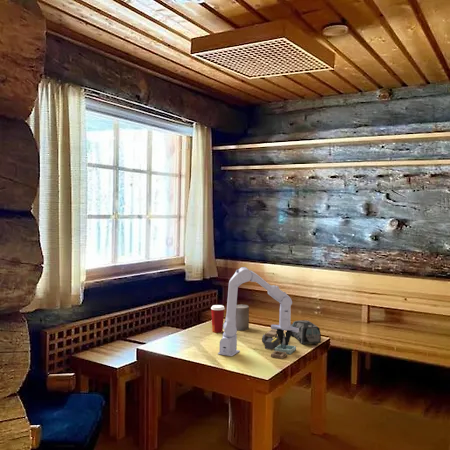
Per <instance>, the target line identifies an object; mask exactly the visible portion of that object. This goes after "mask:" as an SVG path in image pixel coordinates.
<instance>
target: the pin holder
mask: <svg viewBox="0 0 450 450" xmlns="http://www.w3.org/2000/svg"><path fill="white" fill-rule="evenodd" d="M286 356H287V354H286V352H280V351H275V350H273V352H271V353H270V357H271V358H275V359H282V360H283V359H284V358H285V357H286Z"/></svg>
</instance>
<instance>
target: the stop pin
mask: <svg viewBox="0 0 450 450" xmlns="http://www.w3.org/2000/svg"><path fill="white" fill-rule="evenodd" d="M282 349H287V345H286V335H285V336H282Z"/></svg>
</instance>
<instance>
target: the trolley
mask: <svg viewBox="0 0 450 450" xmlns="http://www.w3.org/2000/svg"><path fill="white" fill-rule="evenodd" d="M276 331H277V329H270V330H269V331H267V332H266V333H263V334H262V336H261V342H262V343H264V344H265V341H266V340H267V339H269V338H273V339H275V338H277V346H278V345H280V340H279V337H278V335H277V333H276ZM283 336H286V334H285V333H283Z"/></svg>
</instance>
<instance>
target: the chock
mask: <svg viewBox="0 0 450 450" xmlns="http://www.w3.org/2000/svg"><path fill="white" fill-rule="evenodd" d="M274 338H275V337H273V338H269V339H267V340H266V341H265V343H264V349H266V350H271V351H274V350H275V347H277V346H278V345H277V338H275V339H274Z"/></svg>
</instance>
